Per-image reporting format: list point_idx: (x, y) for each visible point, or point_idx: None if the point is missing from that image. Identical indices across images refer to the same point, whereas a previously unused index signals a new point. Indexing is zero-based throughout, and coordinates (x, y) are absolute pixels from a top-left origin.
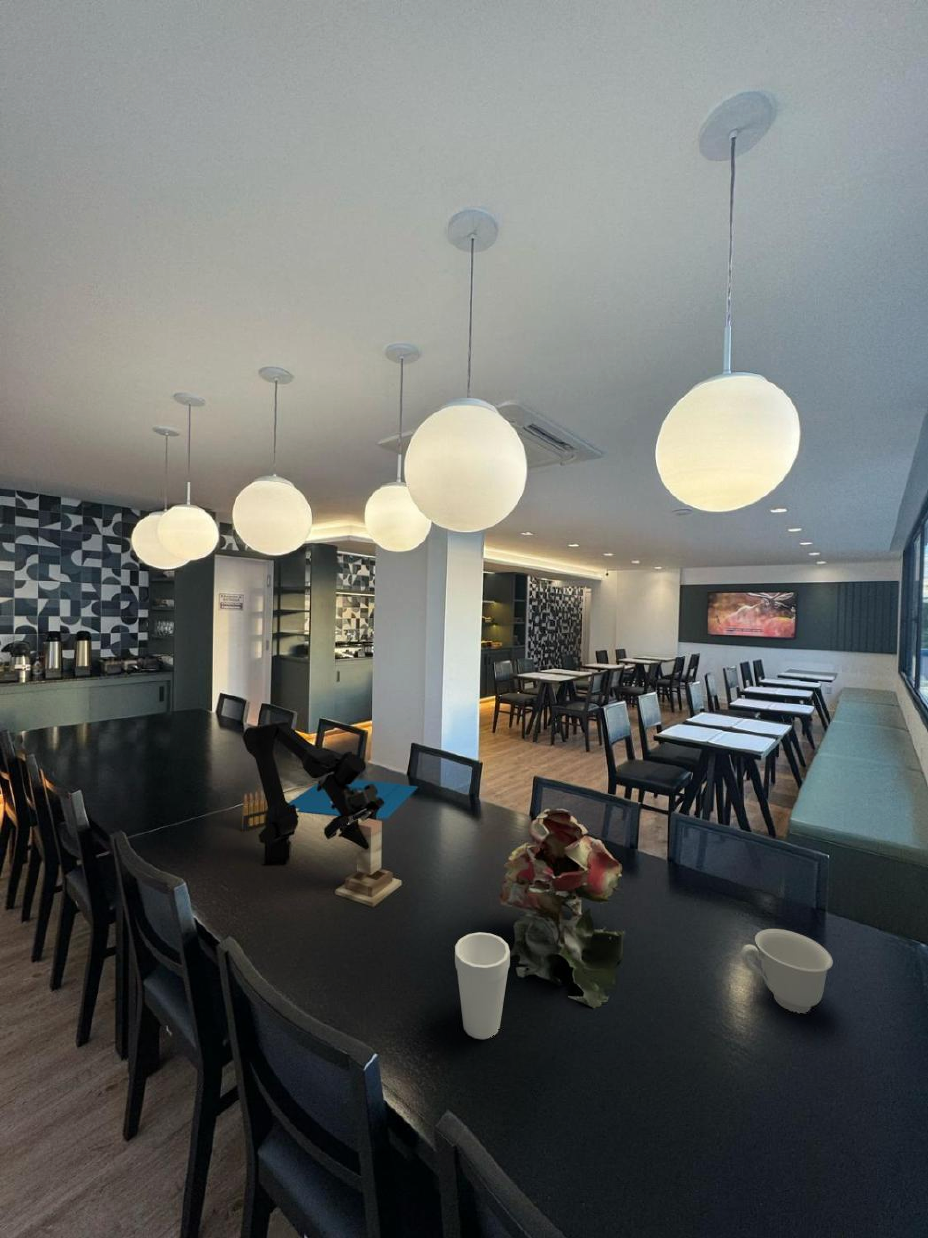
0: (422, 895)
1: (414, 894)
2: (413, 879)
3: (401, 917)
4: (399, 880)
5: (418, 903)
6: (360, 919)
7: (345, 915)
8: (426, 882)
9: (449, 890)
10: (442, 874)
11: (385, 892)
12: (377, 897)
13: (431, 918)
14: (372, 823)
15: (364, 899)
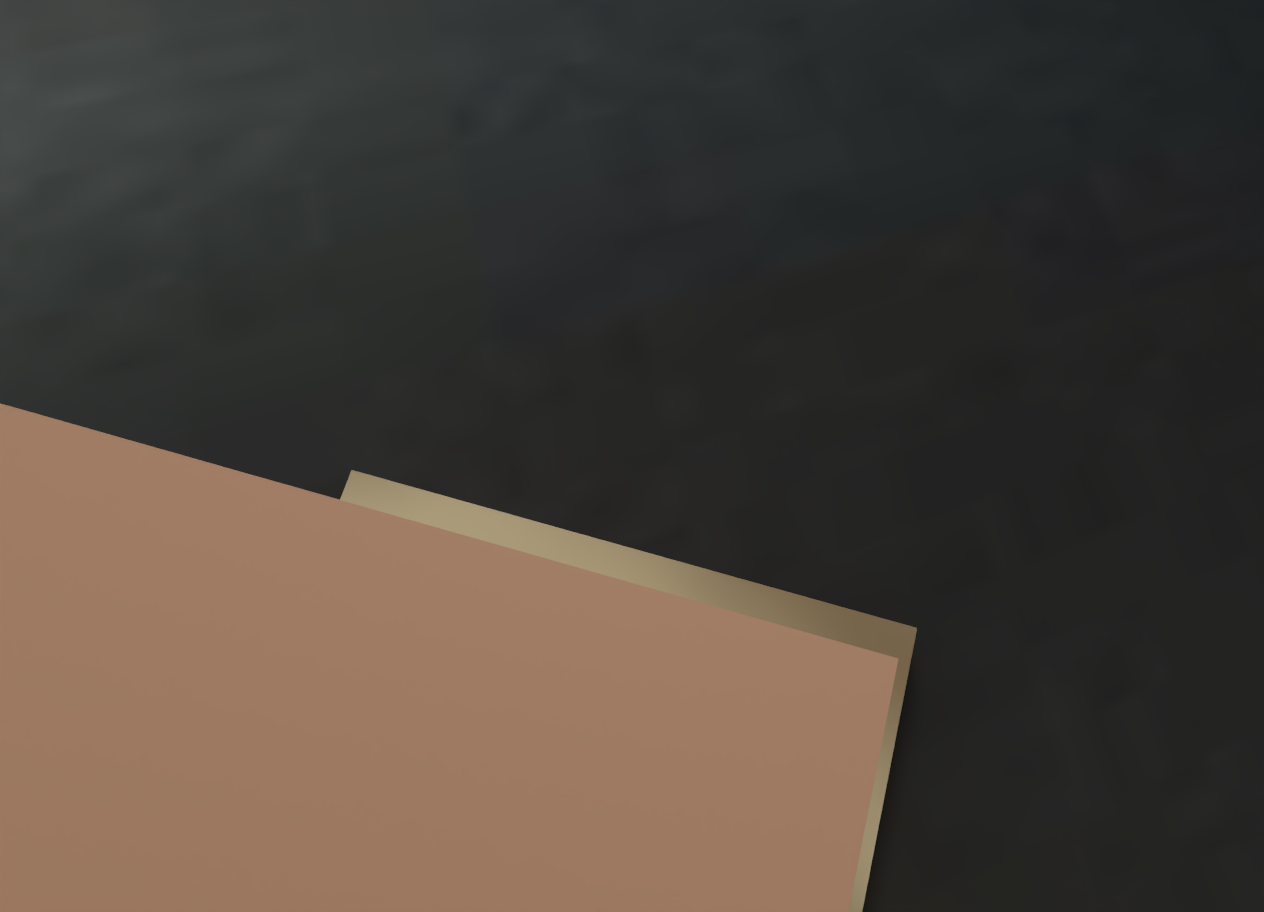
0: (546, 215)
1: (544, 293)
2: (227, 391)
3: (982, 293)
4: (352, 496)
5: (701, 212)
6: (1170, 685)
7: (1169, 901)
8: (278, 243)
9: (406, 12)
10: (89, 133)
11: (663, 566)
12: (794, 622)
13: (906, 51)
14: (196, 842)
15: (885, 767)
